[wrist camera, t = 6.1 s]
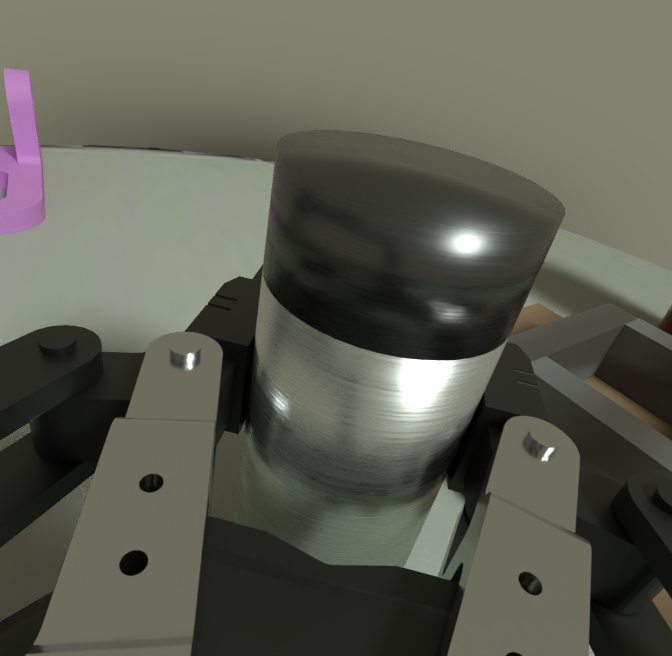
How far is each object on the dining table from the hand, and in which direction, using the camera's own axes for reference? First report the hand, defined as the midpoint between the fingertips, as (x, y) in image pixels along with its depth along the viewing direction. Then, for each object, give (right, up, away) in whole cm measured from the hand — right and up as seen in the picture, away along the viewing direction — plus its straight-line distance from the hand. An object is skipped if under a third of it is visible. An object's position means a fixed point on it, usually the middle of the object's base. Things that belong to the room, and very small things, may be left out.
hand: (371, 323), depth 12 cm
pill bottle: (-2, -8, +2) cm, 8 cm away
